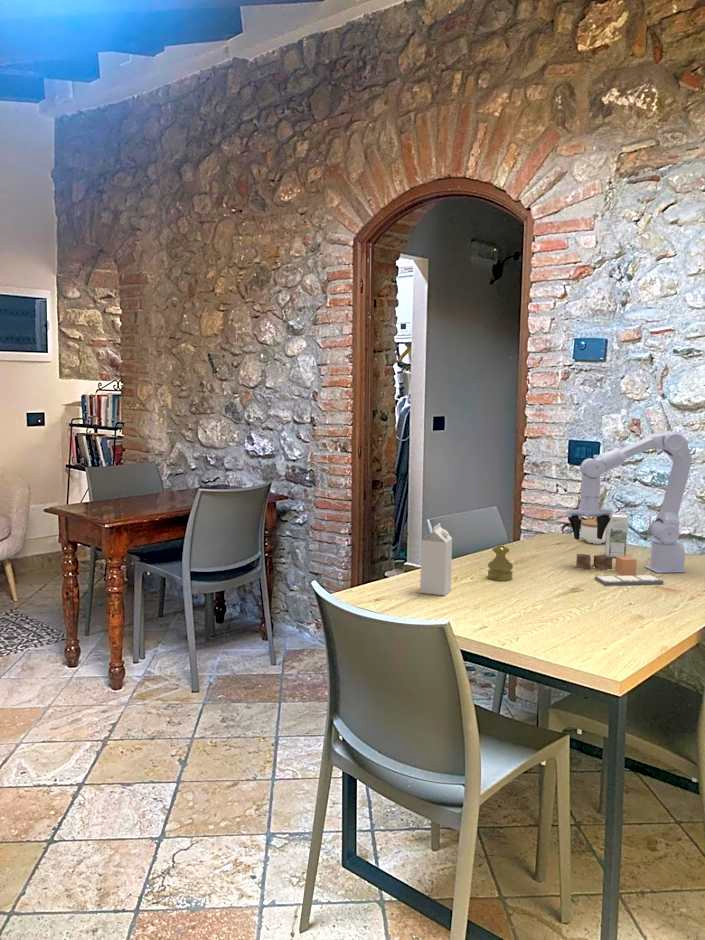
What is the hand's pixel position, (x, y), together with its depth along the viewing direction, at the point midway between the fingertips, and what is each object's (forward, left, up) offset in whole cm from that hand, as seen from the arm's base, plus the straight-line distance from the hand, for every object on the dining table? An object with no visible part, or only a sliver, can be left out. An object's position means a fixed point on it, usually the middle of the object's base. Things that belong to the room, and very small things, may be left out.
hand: (588, 538), depth 244 cm
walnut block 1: (+1, 0, -10) cm, 10 cm away
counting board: (-5, +18, -9) cm, 21 cm away
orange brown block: (-9, +8, -10) cm, 15 cm away
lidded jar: (-20, -37, -10) cm, 43 cm away
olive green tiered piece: (+32, +10, -10) cm, 35 cm away
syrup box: (-17, -15, -10) cm, 25 cm away
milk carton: (+55, +23, -10) cm, 60 cm away
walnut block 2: (-5, +1, -10) cm, 11 cm away
